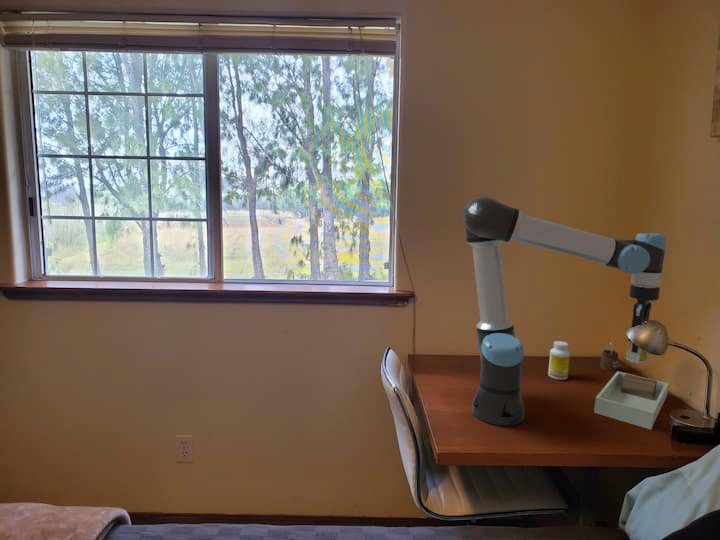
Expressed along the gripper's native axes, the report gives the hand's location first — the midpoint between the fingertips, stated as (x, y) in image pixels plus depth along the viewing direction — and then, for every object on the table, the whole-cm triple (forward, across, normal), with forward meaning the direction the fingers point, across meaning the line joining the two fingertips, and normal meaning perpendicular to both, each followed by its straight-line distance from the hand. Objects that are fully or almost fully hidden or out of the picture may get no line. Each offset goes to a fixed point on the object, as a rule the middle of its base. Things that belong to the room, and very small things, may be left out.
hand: (635, 359), depth 141 cm
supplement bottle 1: (+16, +10, +25) cm, 31 cm away
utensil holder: (+16, +31, +13) cm, 37 cm away
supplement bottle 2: (+1, 0, 0) cm, 1 cm away
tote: (+16, +3, 0) cm, 16 cm away
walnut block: (+16, +12, 0) cm, 20 cm away
